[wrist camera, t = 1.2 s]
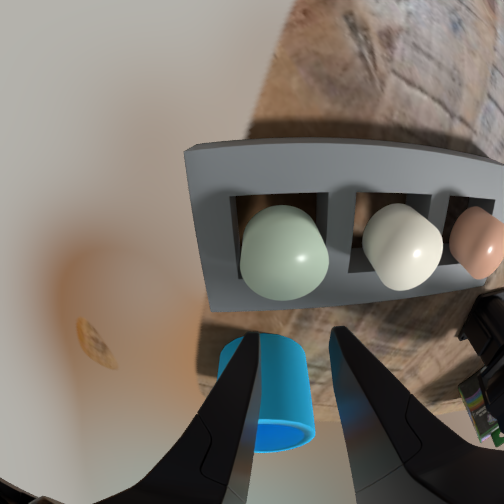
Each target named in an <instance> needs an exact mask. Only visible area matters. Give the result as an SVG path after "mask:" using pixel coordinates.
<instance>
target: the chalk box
mask: <svg viewBox="0 0 504 504" xmlns="http://www.w3.org/2000/svg"><path fill="white" fill-rule="evenodd" d="M485 368H486V366H485V367H483V368H482V369H481V370H480V371H478V372H477V373H475V374H474V375H473V376H471V377H470V378H469V379H467V380H466V381H464V382H463V383H462V384H460V385H459V386H458V388H459V392H460V395H461V398H462V401H463V403H464V405H465V407H466V409H467V412H468V414H469V416H470V419H471V421H472V423H473V426H474V428H475V431H476V433H477V436H478V438H479V440H480V443H482V442H483V441H485V440H486V439H487V438H489V437H490V436H491V437H492V439H493V442H494V444H495V447H499V446H500V445H502V444H503V443H504V437H499V434H500V432H501V431H500V429H499V425H498V422H497V420H496V419H495V418H493V417H492V416H491V414H490V413H487V411H486V407H485V403H484V400H483V396H482V393H481V390H480V386H479V383H478V382H479V381H478V378H477V375H478V374H479V373H481V372H482V371H483V370H484V369H485Z"/></svg>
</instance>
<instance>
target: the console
mask: <svg viewBox="0 0 504 504" xmlns="http://www.w3.org/2000/svg"><path fill="white" fill-rule="evenodd" d="M184 158H185V166H186V173H187V180H188V186H189V194H190V201H191V206H192V213H193V219H194V225H195V231H196V237H197V242H198V248H199V254H200V259H201V264H202V270H203V275H204V280H205V285H206V290H207V295H208V300H209V305H210V309H211V312H237V311H266V310H286V309H302V308H317V307H330V306H341V305H352V304H362V303H372V302H380V301H389V300H397V299H405V298H412V297H419V296H426V295H433V294H439V293H445V292H451V291H457V290H463V289H468V288H474V287H479V286H484V284H485V281H486V278H487V277H486V278H484V279H475V278H473V277H472V276H471V275H470V274H469V273H468V272H467V270H466V269H465V268H464V267H463V266H462V265H461V264H460V263H459V262H458V261H457V260H456V259H455V258H454V257H453V256H452V254H451V252H450V248H449V243H448V244H443V251H442V256H441V259H440V261H439V264H438V266H437V267H436V269H435V270H434V272H433V273H432V274H431V276H430V277H429V278H428V279H427V280H425V281H424V282H423V283H421V284H420V285H418V286H416V287H414V288H412V289H409V290H403V291H398V290H392V289H390V288H388V287H387V286H385V285H384V284H383V283H382V281H381V280H380V278H379V276H378V275H377V273H376V271H375V270H374V268H373V266H372V265H371V263H370V262H369V260H368V258H367V257H366V255H365V253H364V250H363V248H351V245H352V236H353V226H354V215H355V203H356V192H385V193H407V197H406V205H408V206H410V207H412V208H413V209H414V210H416V211H417V212H418V213H419V214H421V215H422V216H423V217H424V218H426V219H427V220H428V221H429V222H430V223H432V224H433V225H434V226H435V227H436V228H437V229H438V230H439V232H440V234H441V237H442V233H443V228H444V224H445V219H446V214H447V209H448V203H449V197H450V196H464V197H470V198H469V203H468V208H470V207H474V206H477V207H480V208H482V209H484V210H485V211H486V212H488V213H489V214H491V215H492V216H494V217H495V218H497V219H498V220H499V221H501V222H502V223H503V224H504V164H502V163H500V162H498V161H495V160H493V159H490V158H487V157H482V156H478V155H474V154H469V153H464V152H459V151H454V150H449V149H443V148H437V147H431V146H424V145H417V144H410V143H401V142H392V141H381V140H369V139H353V138H325V137H290V138H262V139H245V140H232V141H221V142H212V143H202V144H196V145H194V146H193V147H191V148H189V149H187V150H186V151H184ZM313 192H317V206H316V226H317V228H318V231H319V233H320V235H321V237H322V239H323V242H324V244H325V246H326V248H327V252H328V256H329V265H328V270H327V273H326V275H325V277H324V279H323V280H322V282H321V283H320V284H319V286H318V287H316V288H315V289H314V290H313V291H312V292H310V293H308V294H307V295H305V296H303V297H300V298H297V299H293V300H286V301H278V300H272V299H268V298H265V297H262V296H260V295H258V294H257V293H255V292H254V291H253V290H251V289H250V288H249V287H248V285H247V284H246V283H245V281H244V279H243V277H242V274H241V270H240V259H241V248H240V238H239V228H238V218H237V207H236V197H235V196H242V195H259V194H281V193H313ZM468 208H467V209H468Z"/></svg>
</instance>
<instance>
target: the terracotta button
mask: <svg viewBox="0 0 504 504" xmlns="http://www.w3.org/2000/svg"><path fill="white" fill-rule="evenodd" d="M449 248H450V252H451V254H452V256H453V257H454V258H455V259H456V260H457V261H458V262H459V263H460V264H461V265H462V266H463V267H464V268H465V269H466V270H467V272H468V273H469V274H470V275H471V276H472V277H473V278H475V279H484V278H486V277H488V276H489V275H490V274H492V273H493V272H494V271H495V270H496V269H497V267H498V266H499V265H500V263H501V262H502V260H503V258H504V224H503V223H502V222H501V221H499V220H498V219H497V218H495V217H494V216H492V215H491V214H489V213H488V212H486V211H485V210H484V209H482V208H480V207H477V206H474V207H470V208H468V209H466V210H465V211H464V212H463V213H462V214H461V215H460V216H459V217H458V219H457V220H456V222H455V224H454V226H453V228H452V231H451V234H450V239H449Z"/></svg>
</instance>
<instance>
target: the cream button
mask: <svg viewBox="0 0 504 504" xmlns="http://www.w3.org/2000/svg"><path fill="white" fill-rule="evenodd" d="M362 246H363V250H364V253H365V255H366V257H367V258H368V260H369V262H370V263H371V265H372V266H373V268H374V270H375V271H376V273H377V275H378V276H379V278H380V280H381V281H382V283H383V284H384V285H385V286H387V287H388V288H390V289H392V290H398V291H403V290H409V289H412V288H414V287H416V286H418V285H420V284H421V283H423V282H424V281H425V280H427V279H428V278H429V277H430V276H431V274H432V273H433V272H434V270H435V269H436V267H437V266H438V264H439V261H440V259H441V256H442V251H443V241H442V237H441V234H440V232H439V230H438V229H437V228H436V227H435V226H434V225H433V224H432V223H430V222H429V221H428V220H427V219H426V218H424V217H423V216H422V215H421V214H419V213H418V212H417V211H416V210H414V209H413V208H412V207H410V206H408V205H406V204H400V203H396V204H390V205H388V206H385V207H383V208H382V209H380V210H379V211H377V212H376V213H375V214H374V215H373V216H372V217H371V219H370V220H369V222H368V223H367V225H366V227H365V230H364V233H363V238H362Z"/></svg>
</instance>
